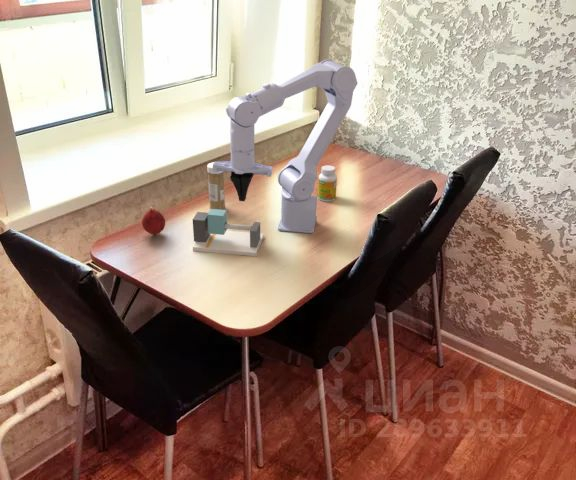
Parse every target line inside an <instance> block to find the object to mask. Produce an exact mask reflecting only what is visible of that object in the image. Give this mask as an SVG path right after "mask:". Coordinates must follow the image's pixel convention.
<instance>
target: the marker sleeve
mask: <svg viewBox="0 0 576 480" xmlns="http://www.w3.org/2000/svg"><path fill="white" fill-rule="evenodd" d="M207 213H208V234H219V235H224V234H225V232H226V230H227V229H226V228H224V224H228V211H227V209H224V210H220V209H211V210H210V209H209V211H208V212H207ZM227 231H228V230H227Z"/></svg>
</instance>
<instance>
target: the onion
mask: <svg viewBox="0 0 576 480" xmlns="http://www.w3.org/2000/svg"><path fill="white" fill-rule="evenodd" d="M141 225H142V228H143V230H144V231H145V232H147V233H148V234H150V235H152V236H157V235H158V234H160V233H161V232H162V231H163V230H164V228H165V226H166V218H165V216H164V215H163V214H162V213H161V212H160V210H157V209H155V208H154V207H153V206H150V207H149V210H147V211H146V213H144V214H143V216H142V219H141Z"/></svg>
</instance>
